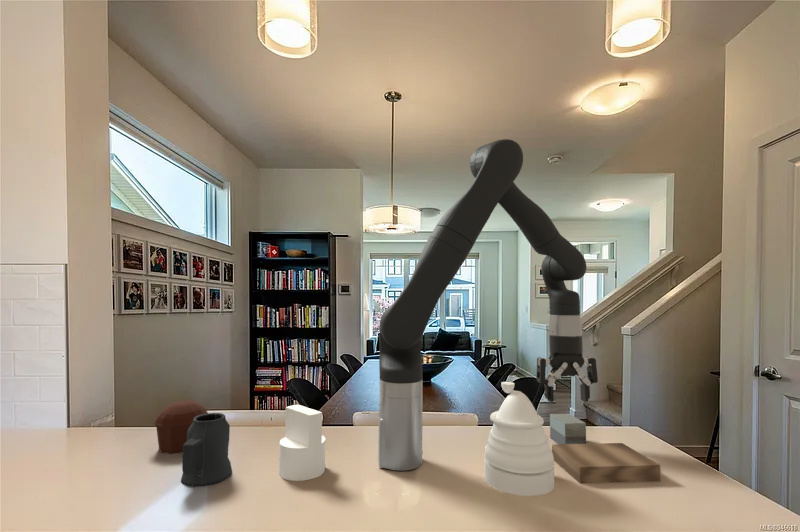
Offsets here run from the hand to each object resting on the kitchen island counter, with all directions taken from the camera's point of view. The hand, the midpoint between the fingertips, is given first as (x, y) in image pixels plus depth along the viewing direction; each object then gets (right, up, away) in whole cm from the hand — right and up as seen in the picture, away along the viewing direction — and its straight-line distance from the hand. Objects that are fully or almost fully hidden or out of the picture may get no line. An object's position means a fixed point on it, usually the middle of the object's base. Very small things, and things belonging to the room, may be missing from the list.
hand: (567, 401), depth 100 cm
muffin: (-91, -9, -4) cm, 92 cm away
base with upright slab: (-60, -9, -17) cm, 63 cm away
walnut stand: (+1, -9, -16) cm, 18 cm away
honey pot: (-18, -9, -21) cm, 29 cm away
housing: (0, -10, -1) cm, 10 cm away
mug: (-78, -8, -21) cm, 81 cm away
